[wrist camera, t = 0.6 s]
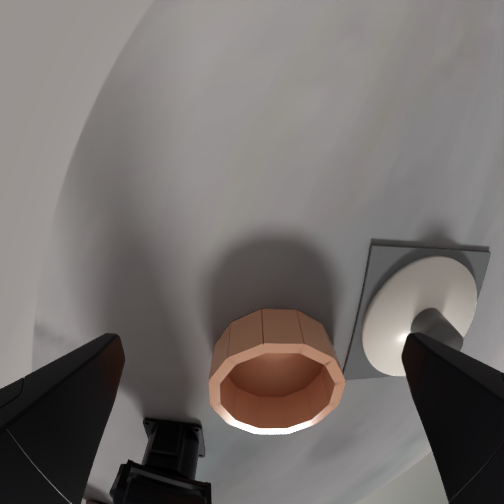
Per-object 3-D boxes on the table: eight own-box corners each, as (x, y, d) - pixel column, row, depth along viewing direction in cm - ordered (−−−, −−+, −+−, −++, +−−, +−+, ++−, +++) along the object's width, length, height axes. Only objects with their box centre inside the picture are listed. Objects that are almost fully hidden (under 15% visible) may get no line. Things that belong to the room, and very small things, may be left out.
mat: (449, 365, 26) (450, 367, 26) (341, 378, 26) (341, 380, 26) (488, 251, 22) (490, 252, 21) (370, 244, 22) (372, 245, 21)
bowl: (320, 397, 27) (329, 431, 23) (216, 395, 27) (212, 431, 22) (341, 309, 23) (356, 342, 19) (213, 306, 23) (206, 340, 19)
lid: (448, 363, 26) (469, 392, 21) (347, 375, 26) (361, 412, 21) (486, 257, 22) (518, 278, 17) (376, 252, 22) (404, 278, 17)
